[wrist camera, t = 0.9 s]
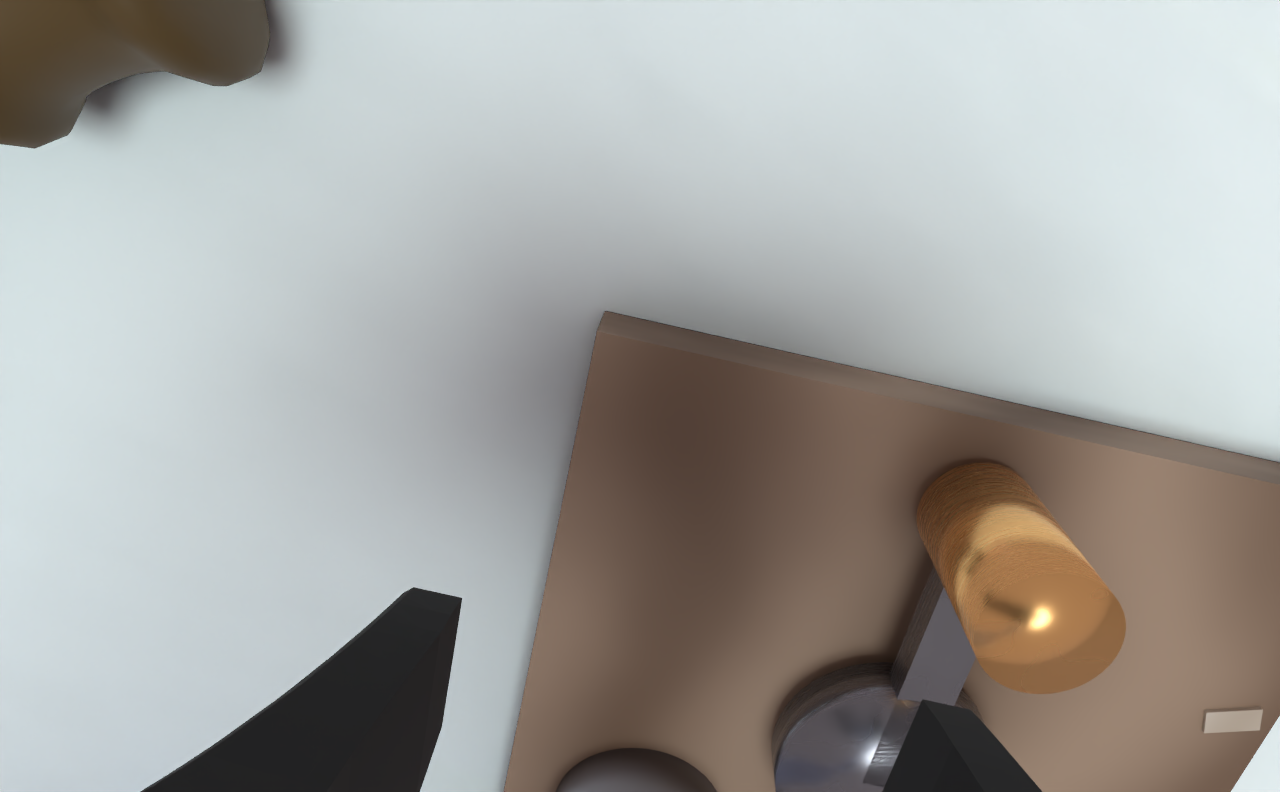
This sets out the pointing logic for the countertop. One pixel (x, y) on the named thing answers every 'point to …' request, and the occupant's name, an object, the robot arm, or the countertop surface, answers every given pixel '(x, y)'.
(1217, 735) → the base
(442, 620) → the robot arm
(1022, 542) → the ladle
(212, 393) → the countertop surface
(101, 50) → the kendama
